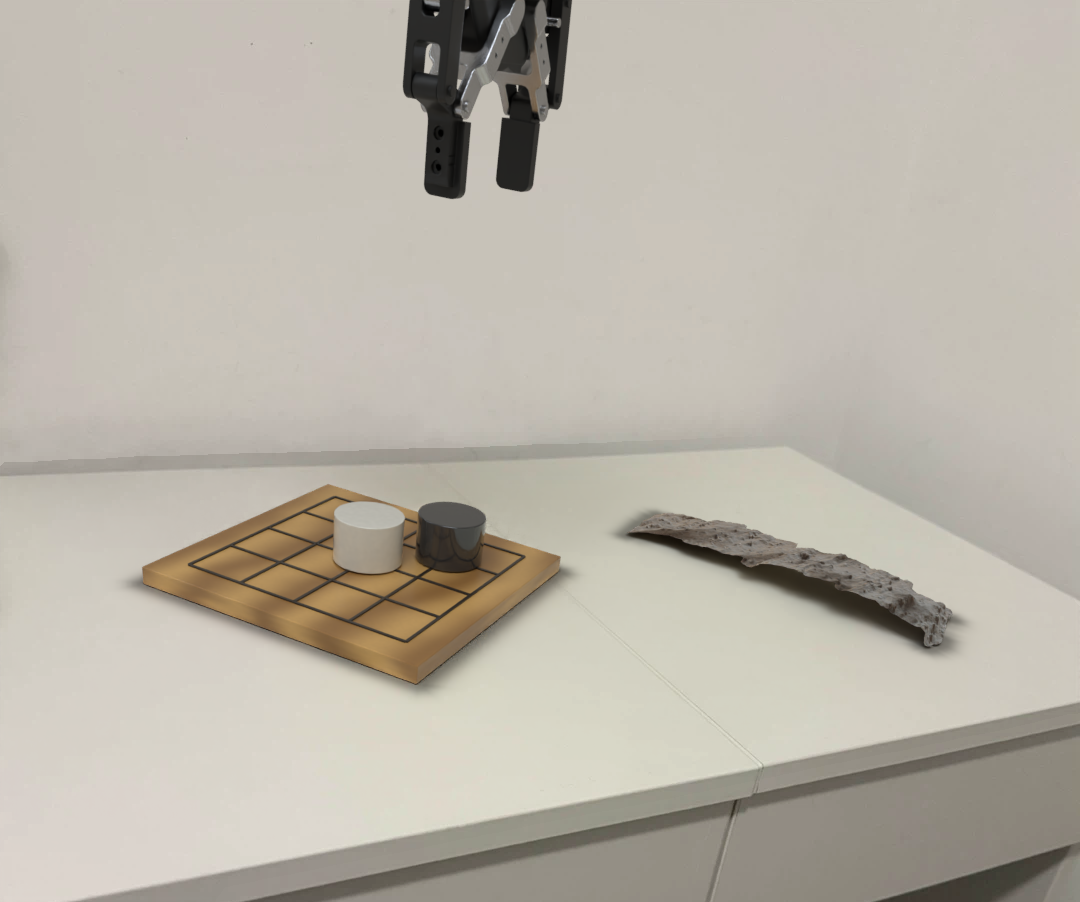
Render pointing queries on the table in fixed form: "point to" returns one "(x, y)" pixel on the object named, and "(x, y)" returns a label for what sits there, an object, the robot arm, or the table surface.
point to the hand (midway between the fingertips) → (480, 193)
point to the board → (349, 586)
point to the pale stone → (368, 537)
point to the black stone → (450, 536)
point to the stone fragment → (808, 566)
